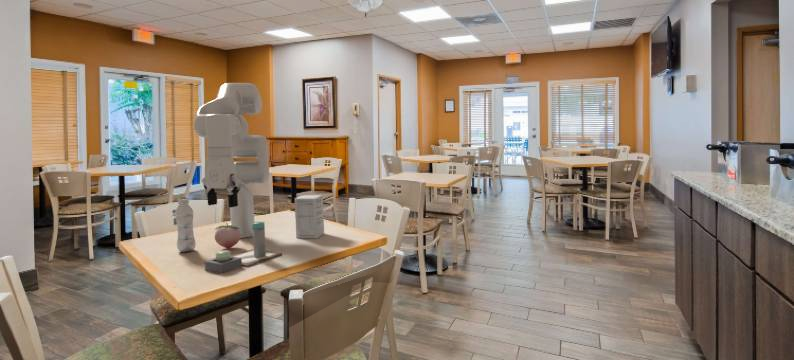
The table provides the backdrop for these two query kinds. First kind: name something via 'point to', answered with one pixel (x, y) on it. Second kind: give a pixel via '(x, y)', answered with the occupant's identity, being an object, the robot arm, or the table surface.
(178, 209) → the plastic bottle
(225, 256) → the button
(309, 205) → the supplement box
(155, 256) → the table surface
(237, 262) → the button housing
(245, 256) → the clipboard
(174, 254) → the table surface
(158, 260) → the table surface
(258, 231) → the marker
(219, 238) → the decorative fruit
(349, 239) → the table surface
